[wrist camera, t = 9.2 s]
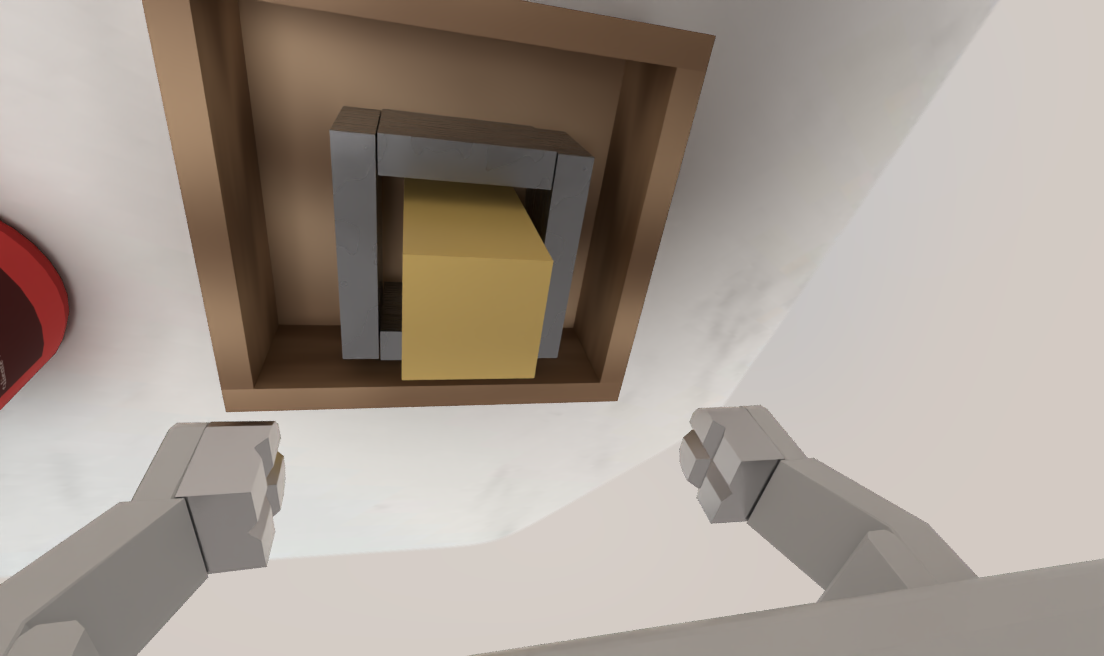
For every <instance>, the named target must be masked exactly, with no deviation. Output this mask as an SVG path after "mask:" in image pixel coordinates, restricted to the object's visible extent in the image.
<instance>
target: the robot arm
mask: <svg viewBox="0 0 1104 656" xmlns="http://www.w3.org/2000/svg"><path fill="white" fill-rule="evenodd" d="M690 424H691V427H692V429H693V430H691V431H690V432H689V433H688V434H687V435H686V436H684V437H683V440H682V443H681V446H680V449H679V450H680V451H679V452H680V464H681V468H682V471H683V473H684V475H685V477H686V479H687V480H688V481H689V482H690V483H691V484H693V485H694V486H696V487H697V488H698V493H697V499H698V501H699V503H700V504H701V506H702V508H703V510H704V512H705V514H706V515H707V517H708V519H709V521H710V523H711V524H712V523H727V522H742V521H748V522H747V524H748V525H750V526H751V527H752V528H753V529H754V530H755V531H757V532H758V533H759V534H760V535H761V536H762V537H763V538H765V539H766V540H767V541H768V542H769V543H771V544H772V545H773V546H774V547H775V548H776V549H778V550H779V551H780V552H781V553H782V554H783V555H785V556H786V557H787V558H788V559H789V560H790V561H791V562H793V563H794V564H795V565H796V566H797V567H798V568H800V569H801V570H802V571H803V572H804V573H806V574H807V575H808V576H809V577H810V578H811V579H812V580H814V581H815V582H816V583H817V584H818V585H819V586H821V587H822V588H823V589H824V590H825V591H824V593H823V594H822V596H821V597H820V598H819V600H818V601H817V602H816V603H810V604H804V605H798V606H790V607H784V608H777V609H771V610H764V611H757V612H751V613H744V614H738V615H732V616H725V617H719V618H711V619H705V620H699V621H692V622H685V623H679V624H672V625H666V626H659V627H653V628H646V629H639V630H633V631H626V632H620V633H614V634H607V635H600V636H594V637H587V638H581V639H574V640H568V641H561V642H555V643H548V644H541V645H535V646H528V647H522V648H515V649H508V650H502V651H495V652H489V653H482V654H476V655H469V656H1104V559H1099V560H1092V561H1086V562H1079V563H1073V564H1066V565H1060V566H1053V567H1047V568H1040V569H1033V570H1027V571H1021V572H1014V573H1007V574H1001V575H994V576H987V577H981V578H979V577H978V576H977V575H976V574H975V573H974V572H973V571H972V570H971V569H970V568H969V567H968V566H967V565H966V564H965V562H963V560H962V559H961V558H960V557H959V556H958V555H957V554H956V553H955V552H954V551H953V550H952V549H951V548H950V547H949V545H947V543H946V542H945V541H944V540H943V539H942V538H941V537H940V536H939V535H938V534H937V533H936V532H935V531H934V529H932V527H931V526H930V525H929V524H928V523H926V522H924V521H922V520H921V519H919V518H917V517H916V516H914V515H912V514H910V513H909V512H907V511H905V510H903V509H902V508H900V507H898V506H897V505H895V504H893V503H891V502H890V501H888V500H886V499H884V498H883V497H881V496H879V495H877V494H875V493H874V492H872V491H870V490H869V489H867V488H865V487H863V486H861V485H860V484H858V483H857V482H855V481H853V480H851V479H849V478H848V477H846V476H844V475H843V474H841V473H839V472H837V471H836V470H834V469H832V468H830V467H829V466H827V465H825V464H824V463H822V462H820V461H818V460H816V459H815V458H807V457H806V455H805V454H804V453H803V452H802V450H801V449H800V448H799V447H798V446H797V444H796V443H795V442H794V441H793V440H792V438H791V437H790V436H789V435H788V434H787V432H786V431H785V430H784V429H783V428H782V427H781V425H780V424H779V423H778V421H777V420H776V419H775V418H774V417H773V415H772V414H771V413H770V412H769V411H768V410H767V409H766V408H765V407H763V406H761V405H754V406H739V407H713V408H698V409H697V410H696V411H695V412H694V413H693V414H692V417H691V419H690ZM280 439H281V435H280V430H279V425H278V423H277V422H276V421H242V422H211V423H176V424H175V425H174V426H172V427H171V428H170V429H169V430H168V432H167V434H166V436H165V438H164V440H163V442H162V443H161V445H160V447H159V449H158V451H157V453H156V455H155V457H154V459H153V460H152V462H151V464H150V466H149V468H148V470H147V472H146V474H145V475H144V477H143V479H142V481H141V483H140V485H139V487H138V489H137V490H136V492H135V494H134V496H133V498H132V500H131V501H129V502H119V503H118V504H116V505H115V506H113V507H112V508H110V509H109V510H107V511H106V512H105V513H103V514H102V515H100V516H99V517H97V518H96V519H94V520H93V521H91V522H90V523H89V524H87V525H86V526H84V527H83V528H81V529H80V530H78V531H77V532H76V533H74V534H73V535H71V536H70V537H68V538H67V539H65V540H64V541H63V542H61V543H60V544H58V545H57V546H55V547H54V548H52V549H51V550H49V551H48V552H47V553H45V554H44V555H42V556H41V557H39V558H38V559H36V560H35V561H34V562H32V563H31V564H29V565H28V566H26V567H25V568H23V569H22V570H20V571H19V572H18V573H16V574H15V575H13V576H12V577H10V578H9V579H7V580H6V581H5V582H3V583H2V584H0V656H137V654H138V653H139V652H140V651H141V650H142V649H143V648H144V647H145V646H146V645H147V644H148V642H149V641H150V640H151V639H152V638H153V637H154V636H155V635H156V634H157V633H158V631H159V630H160V629H161V628H162V627H163V626H164V625H165V624H166V623H167V622H168V620H169V619H170V618H171V617H172V616H173V615H174V614H175V613H176V612H177V611H178V609H180V607H181V606H182V605H183V604H184V603H185V602H186V601H187V600H188V599H189V597H191V595H192V594H193V593H194V592H195V591H196V590H197V589H198V588H199V587H200V586H201V584H202V583H203V582H204V581H205V580H206V579H207V578H208V574H212V573H220V572H228V571H236V570H245V569H253V568H261V567H267V563H268V559H269V555H270V551H271V547H272V543H273V539H274V535H275V528H274V522H273V516H274V515H275V514H277V513H278V512H279V511H280V510H281V506H282V501H283V497H284V488H285V462H284V456H283V455H282V454H280V453H279V452H278V447H279V443H280Z"/></svg>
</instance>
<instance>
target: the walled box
mask: <svg viewBox="0 0 1104 656" xmlns="http://www.w3.org/2000/svg"><path fill="white" fill-rule="evenodd" d="M142 3H143V8H144V13H145V18H146V23H147V28H148V33H149V37H150V42H151V47H152V52H153V57H154V62H155V67H156V72H157V77H158V81H159V86H160V91H161V96H162V101H163V106H164V111H165V116H166V121H167V126H168V130H169V135H170V140H171V145H172V150H173V155H174V160H175V165H176V170H177V174H178V179H179V184H180V189H181V194H182V199H183V204H184V209H185V214H186V218H187V223H188V228H189V233H190V238H191V243H192V248H193V253H194V258H195V263H196V267H197V272H198V277H199V282H200V287H201V292H202V297H203V302H204V307H205V311H206V316H207V321H208V326H209V331H210V336H211V341H212V346H213V351H214V356H215V360H216V365H217V370H218V375H219V380H220V385H221V390H222V395H223V400H224V404H225V409H226V412H247V411H283V410H318V409H354V408H389V407H425V406H460V405H496V404H531V403H567V402H602V401H618V397H619V393H620V390H621V386H622V382H623V378H624V375H625V371H626V367H627V364H628V360H629V356H630V352H631V349H632V345H633V341H634V338H635V334H636V330H637V326H638V323H639V319H640V315H641V312H642V308H643V304H644V301H645V297H646V293H647V289H648V286H649V282H650V278H651V275H652V271H653V267H654V263H655V260H656V256H657V252H658V249H659V245H660V241H661V237H662V234H663V230H664V226H665V223H666V219H667V215H668V211H669V208H670V204H671V200H672V197H673V193H674V189H675V186H676V182H677V178H678V174H679V171H680V167H681V163H682V160H683V156H684V152H685V148H686V145H687V141H688V137H689V134H690V130H691V126H692V122H693V119H694V115H695V111H696V108H697V104H698V100H699V96H700V93H701V89H702V85H703V82H704V78H705V74H706V71H707V67H708V63H709V59H710V56H711V52H712V48H713V45H714V41H715V37H716V36H714V35H709V34H703V33H698V32H692V31H687V30H681V29H676V28H670V27H665V26H660V25H654V24H649V23H643V22H638V21H632V20H627V19H621V18H616V17H610V16H605V15H599V14H594V13H588V12H583V11H577V10H572V9H566V8H561V7H555V6H550V5H544V4H539V3H533V2H528V1H522V0H142ZM343 106H349V107H358V108H366V109H375V110H381V114H382V109H391V110H399V111H408V112H416V113H425V114H434V115H442V116H451V117H459V118H468V119H476V120H485V121H493V122H502V123H510V124H519V125H527V126H533V127H534V128H538V129H547V130H555V131H564V132H566V133H567V134H568V135H569V136H571V137H572V138H573V139H574V140H575V141H576V142H577V143H579V144H580V145H581V146H582V147H583V148H584V149H585V150H586V151H588V152H589V153H590V154H591V155H592V156H593V157H594V158H595V159H594V164H593V170H592V175H591V180H590V186H589V191H588V196H587V202H586V207H585V212H584V218H583V223H582V228H581V234H580V239H579V244H578V250H577V255H576V260H575V266H574V271H573V276H572V282H571V287H570V292H569V298H568V303H567V308H566V314H565V319H564V324H563V330H562V335H561V340H560V346H559V351H558V356H557V358H537V364H536V370H535V376H534V378H511V379H446V380H402V360H381V351H380V350H379V359H343V355H342V338H341V321H340V304H339V287H338V269H337V252H336V235H335V218H334V201H333V184H332V166H331V149H330V132H329V130H330V128H331V126H332V125H333V123H334V121H335V119H336V118H337V116H338V114H339V112H340V111H341V109H342V107H343ZM513 188H514V190H515V192H516V193H517V195H518V197H519V199H520V201H521V203H522V204H523V206H524V203H525V195H526V188H522V187H513ZM403 212H404V177H392V176H382V261H383V291H384V282H402V274H403Z"/></svg>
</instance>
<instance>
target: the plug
mask: <svg viewBox="0 0 1104 656" xmlns="http://www.w3.org/2000/svg"><path fill="white" fill-rule="evenodd" d="M552 267H553V260H552V258H551V256H550V254H549V252H548V250H547V249H546V247H545V245H544V243H543V241H542V239H541V238H540V236H539V234H538V232H537V230H536V228H535V227H534V225H533V223H532V221H531V219H530V217H529V215H528V214H527V212H526V210H525V208H524V206H523V204H522V203H521V201H520V199H519V197H518V195H517V193H516V192H515V190H514V188H513V187H510V186H498V185H487V184H475V183H463V182H451V181H439V180H428V179H416V178H404V212H403V274H402V380H446V379H511V378H534V376H535V370H536V364H537V358H538V352H539V346H540V340H541V334H542V327H543V321H544V315H545V309H546V303H547V297H548V291H549V285H550V279H551V273H552Z"/></svg>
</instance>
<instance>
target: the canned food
mask: <svg viewBox="0 0 1104 656" xmlns="http://www.w3.org/2000/svg"><path fill="white" fill-rule="evenodd" d="M68 315H69V305H68V296H67V293H66V290H65V287H64V285H63V282H62V280H61V277H60V276H59V274H58V273H57V271H56V270H55V268H54V267H53V265H52V264H51V262H50V261H49V260H48V259H47V258H46V256H45V255H44V254H43V253H42V252H41V251H40V250H39V249H38V248H37V247H36V246H35V245H34V244H33V243H32V242H30V241H29V240H28V239H27V238H25V237H24V236H23V235H21V234H20V233H19V232H18V231H16V230H15V229H14V228H12V227H10V226H8V225H7V224H5V223H3V222H2V221H0V410H1V409H2V408H3V407H4V406H5V405H6V404H7V403H8V402H9V401H10V400H11V399H12V398H13V397H14V395H15V394H16V393H17V392H18V391H19V390H20V389H21V388H22V387H23V386H24V385H25V384H26V383H27V382H28V381H29V380H30V379H31V378H32V377H33V376H34V375H35V374H36V373H37V372H38V371H39V370H40V369H41V368H42V367H43V365H44V364H45V363H46V362H47V361H48V360H49V359H50V358H51V357H52V356H53V355H54V354H55V353H56V351H57V349H58V347H59V345H60V343H61V341H62V339H63V336H64V333H65V329H66V326H67V320H68Z"/></svg>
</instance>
